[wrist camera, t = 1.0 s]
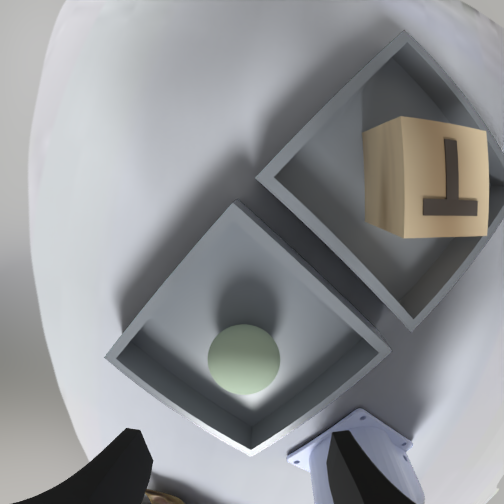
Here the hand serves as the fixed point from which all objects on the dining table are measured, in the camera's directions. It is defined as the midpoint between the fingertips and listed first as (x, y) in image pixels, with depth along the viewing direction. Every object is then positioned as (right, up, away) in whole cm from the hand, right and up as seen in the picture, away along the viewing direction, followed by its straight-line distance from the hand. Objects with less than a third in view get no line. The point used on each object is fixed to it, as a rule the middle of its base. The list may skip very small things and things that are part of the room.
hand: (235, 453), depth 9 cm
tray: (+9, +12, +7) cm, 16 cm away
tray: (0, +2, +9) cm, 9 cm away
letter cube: (+9, +12, +6) cm, 16 cm away
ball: (0, +2, +9) cm, 9 cm away
